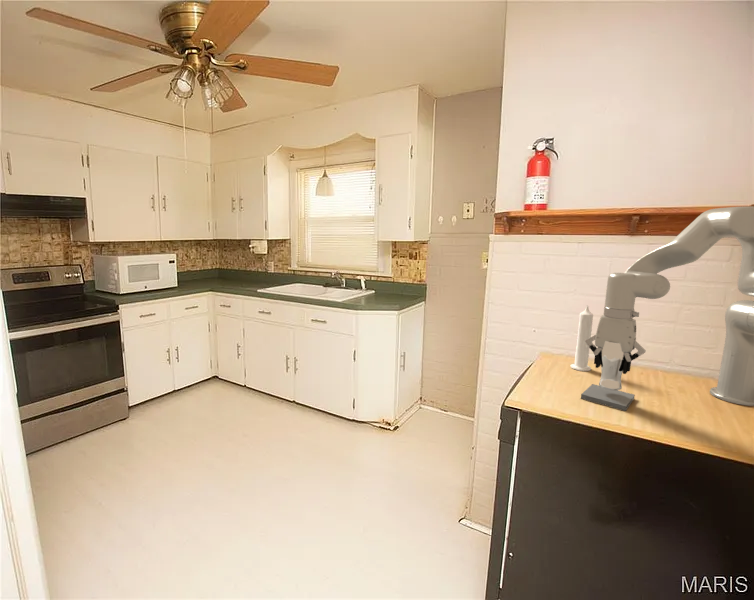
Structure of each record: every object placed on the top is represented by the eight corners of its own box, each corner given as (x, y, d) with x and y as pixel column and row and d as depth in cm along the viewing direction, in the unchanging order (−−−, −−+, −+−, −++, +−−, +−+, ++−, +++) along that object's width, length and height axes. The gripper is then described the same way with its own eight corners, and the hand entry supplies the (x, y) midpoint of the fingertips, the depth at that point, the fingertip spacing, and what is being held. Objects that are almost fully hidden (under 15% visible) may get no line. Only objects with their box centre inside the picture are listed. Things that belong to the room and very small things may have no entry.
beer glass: (613, 392, 113) (618, 344, 110) (592, 384, 119) (596, 338, 117) (628, 388, 116) (633, 341, 113) (606, 381, 122) (611, 336, 120)
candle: (593, 372, 142) (601, 307, 138) (573, 370, 143) (580, 306, 139) (587, 366, 149) (594, 304, 145) (568, 364, 150) (574, 303, 146)
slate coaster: (634, 399, 118) (634, 394, 118) (625, 411, 110) (626, 406, 109) (591, 388, 126) (592, 383, 126) (580, 398, 118) (581, 394, 118)
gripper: (655, 316, 110) (647, 374, 113) (590, 308, 122) (584, 360, 125) (650, 320, 105) (642, 380, 108) (583, 311, 117) (577, 365, 120)
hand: (611, 369), depth 116 cm, fingers closed on beer glass, 6 cm apart
